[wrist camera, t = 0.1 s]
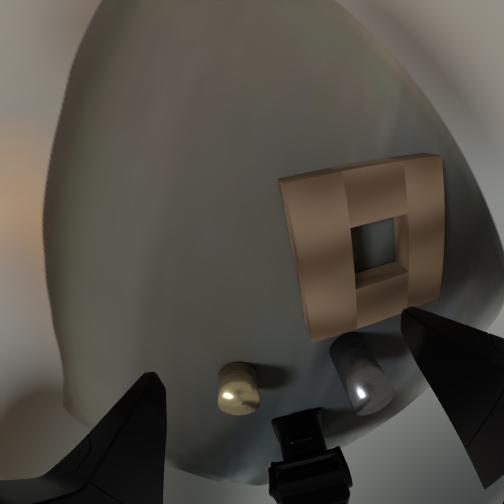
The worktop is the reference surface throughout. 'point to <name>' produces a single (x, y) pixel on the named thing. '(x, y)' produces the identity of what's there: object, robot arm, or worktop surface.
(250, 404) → the short pin
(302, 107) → the worktop surface
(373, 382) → the tall pin
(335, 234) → the hole plate
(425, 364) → the robot arm
